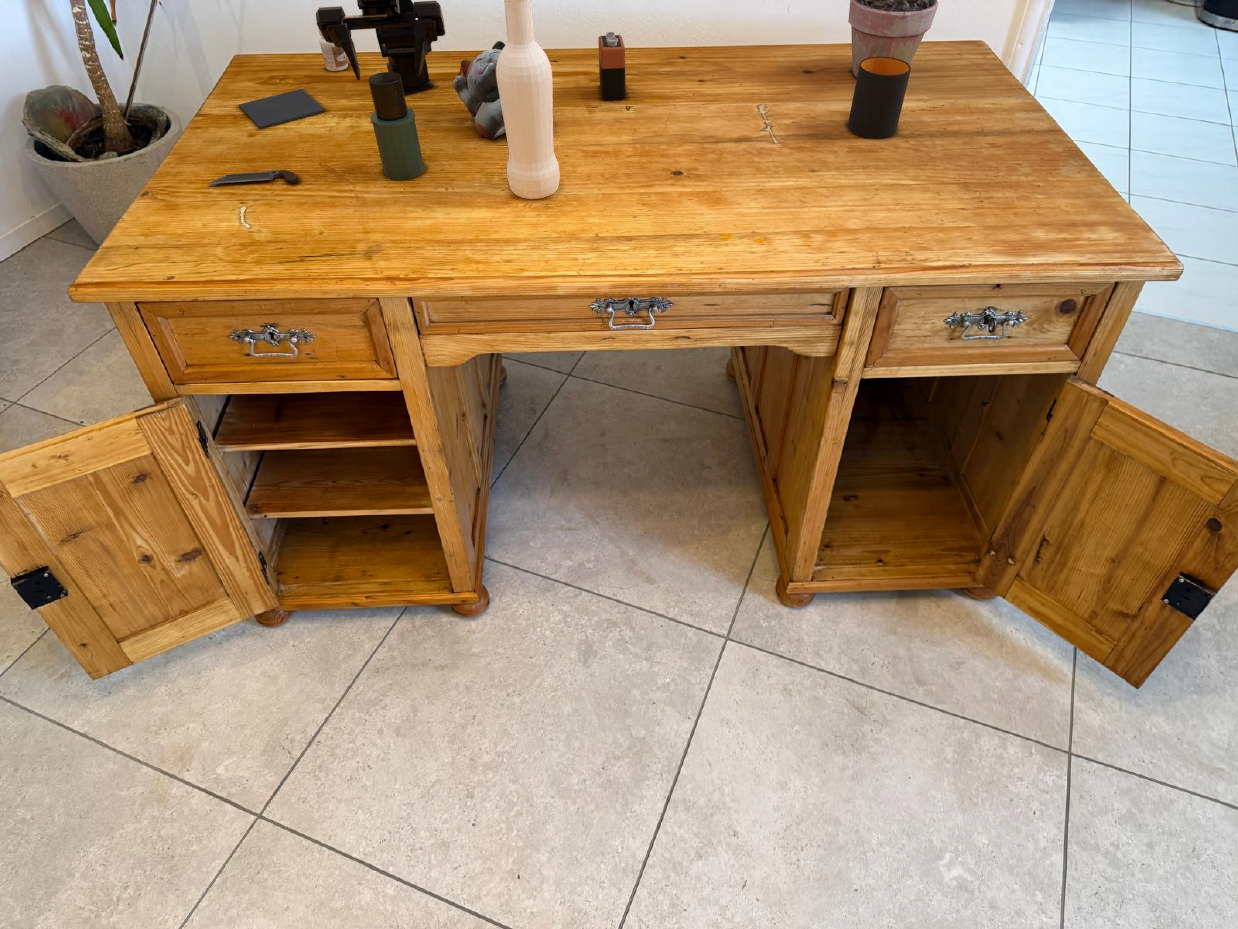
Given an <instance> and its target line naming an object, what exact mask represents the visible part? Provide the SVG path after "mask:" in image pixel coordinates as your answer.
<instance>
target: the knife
mask: <svg viewBox="0 0 1238 929" xmlns="http://www.w3.org/2000/svg"><path fill="white" fill-rule="evenodd" d="M275 177H282V178H285V180H286V182H288V183H289V184H296V183H298V181H299V177H298V176H297V174H295V173H294V172H292V171H290V170H287V169H279V170H267V171H255V172H243V173H240V172H239V173H229V174H228V173H227V174H226V175H223V176H220V177H217V178H216V179H214V180H211V181H210V182H208V185H212V184H227V183H240V182H241V183H242V182H257V181H258V182H259V181H273V180H274V178H275Z"/></svg>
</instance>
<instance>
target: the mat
mask: <svg viewBox="0 0 1238 929" xmlns="http://www.w3.org/2000/svg"><path fill="white" fill-rule="evenodd" d="M238 107H239V108H240V109H241V110H242V111H243V112H244V113H245V115H247V116H248V118H249V119H250V120H251V121H252V122H253V123H254V124H255V125H256V126H257V127H258V128H259V129H260V130H262V129H265V128H269V127H273V126H277V125H280V124H284V123H288V122H292V121H295V120H300V119H303V118H307V117H311V116H314V115H318V114H323V113H325V109H324V108H323V107H322V106H321V105H320V104H318V103H317V101H315V100H314V99H313V98H312V97H311V96H310V95H309V94H308V93H307V92H305V91H304V90H303V88H299V89H295V90H292V91H291V90H290V91H287V92H283V93H279V94H275V95H271V96H268V97H263V98H260V99H256V100H255V99H254V100H251V101H248V102H244V103H240V104H238Z"/></svg>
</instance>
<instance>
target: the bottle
mask: <svg viewBox="0 0 1238 929" xmlns="http://www.w3.org/2000/svg"><path fill="white" fill-rule="evenodd" d="M531 3H532V2H531V0H503V4H504V15H505V16H504V17H505V28H506V43H505V47H504V48H503V50H502V52H501V53H500V55H499V58H498V61H497V65H496V78H497V84H498V90H499V96H500V101H501V107H502V113H503V119H504V124H505V130H506V133H505V136H506V141H507V147H508V155H509V156H508V161H507V164H506V175H507V176H506V178H507V182H508V185H509V188H510V191H511V192H512V193H513V194H514V195H515V196H517V197H519V198H522V199H525V200H526V199H527V200H539V199H544V198H547V197H549V196H552V195H553V194H555V193H556V191H557V190H558V188H559V185H560V180H561V175H560V174H561V173H560V165H559V162H558V159H557V158H556V155H555V150H554V149H555V148H554V106H553V105H554V102H553V98H554V97H553V96H554V95H553V94H554V93H553V69H552V65H551V61H550V60H549V57H548V55H547V53H546V52H545V51H544V50H543V48H542V47H541V46H540V45H539V43H538V42H537V41H536V39H535V32H534V23H533V21H534V20H533V13H532V12H533V11H532V4H531Z"/></svg>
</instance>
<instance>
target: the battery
mask: <svg viewBox="0 0 1238 929" xmlns="http://www.w3.org/2000/svg"><path fill="white" fill-rule="evenodd" d="M597 42H598V71H599V72H598V73H599V76H598V77H599V88H600V93H601V98H602V100H604V101H609V100H611V101H612V100H624V99H626V94H627V93H626V47H625V43H624V39H623V36H622V35H621V34H616V32H614V31H608V32H606V35H600V36H599V37H598V40H597Z"/></svg>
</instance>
